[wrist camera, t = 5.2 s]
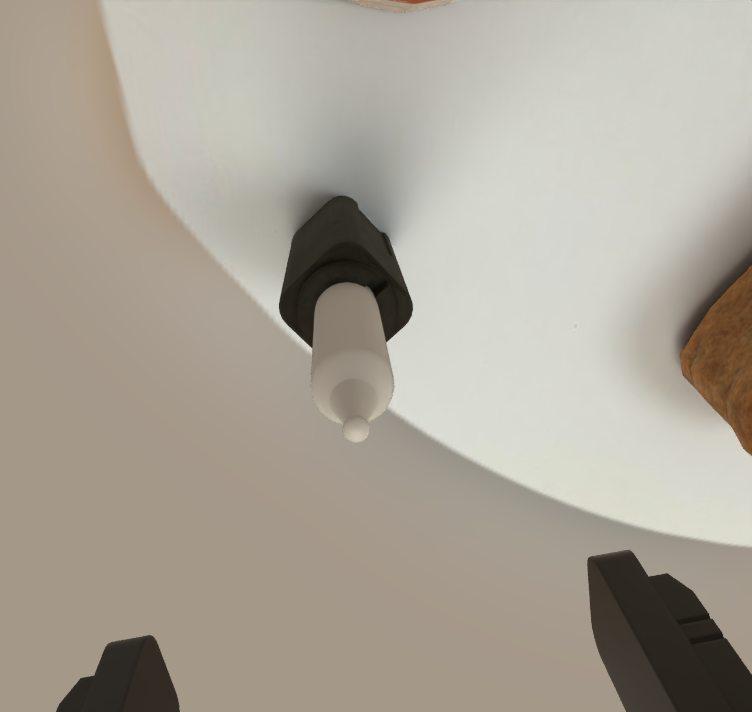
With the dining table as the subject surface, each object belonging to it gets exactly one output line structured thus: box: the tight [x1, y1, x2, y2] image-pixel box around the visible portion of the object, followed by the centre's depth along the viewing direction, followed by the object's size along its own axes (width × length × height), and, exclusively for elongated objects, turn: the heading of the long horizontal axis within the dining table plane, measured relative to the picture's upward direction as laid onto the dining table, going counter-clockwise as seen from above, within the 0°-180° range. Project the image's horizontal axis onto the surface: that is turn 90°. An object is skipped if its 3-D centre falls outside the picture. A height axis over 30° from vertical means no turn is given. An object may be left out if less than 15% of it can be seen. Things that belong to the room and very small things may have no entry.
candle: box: [279, 196, 413, 442], centre depth 33 cm, size 5×5×25 cm
